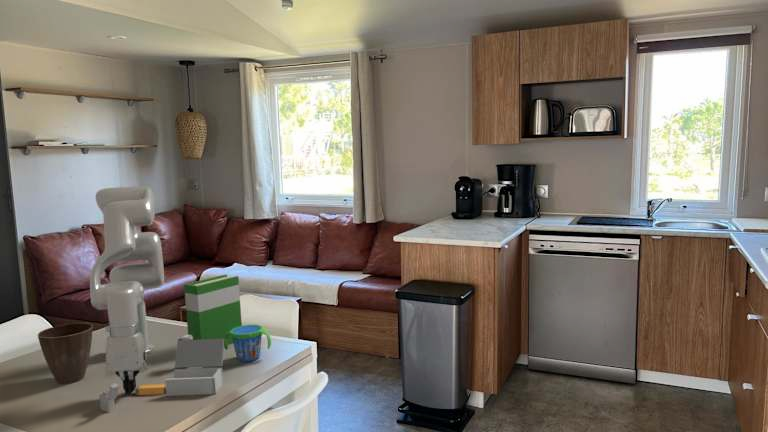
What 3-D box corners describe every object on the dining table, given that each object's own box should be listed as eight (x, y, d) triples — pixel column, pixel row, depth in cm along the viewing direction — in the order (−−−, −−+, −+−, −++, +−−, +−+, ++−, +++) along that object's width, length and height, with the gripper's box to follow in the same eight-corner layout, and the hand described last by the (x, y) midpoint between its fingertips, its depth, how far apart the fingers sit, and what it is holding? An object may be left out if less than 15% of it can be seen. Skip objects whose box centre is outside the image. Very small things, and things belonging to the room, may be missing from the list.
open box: (166, 396, 161) (165, 379, 160) (176, 384, 168) (175, 369, 168) (215, 393, 161) (214, 377, 160) (223, 382, 169) (222, 367, 168)
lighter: (100, 409, 154) (97, 381, 153) (106, 406, 155) (104, 378, 154) (115, 415, 150) (112, 386, 149) (121, 412, 151) (118, 384, 150)
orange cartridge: (135, 395, 162) (134, 388, 162) (138, 391, 164) (138, 385, 164) (167, 393, 162) (166, 387, 162) (170, 390, 165) (169, 383, 164)
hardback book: (229, 336, 212) (225, 274, 210) (242, 339, 208) (238, 276, 205) (189, 350, 198) (184, 284, 196) (202, 354, 194) (197, 286, 191)
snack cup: (219, 363, 185) (217, 333, 183) (233, 352, 195) (231, 323, 194) (264, 365, 182) (262, 334, 180) (276, 353, 192) (274, 324, 191)
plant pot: (40, 378, 178) (34, 329, 176) (92, 366, 186) (87, 319, 185) (46, 393, 166) (40, 341, 164) (101, 379, 175) (96, 329, 173)
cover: (177, 340, 171) (179, 341, 172) (174, 367, 168) (176, 368, 169) (223, 338, 171) (224, 339, 172) (221, 365, 168) (222, 366, 169)
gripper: (91, 335, 157) (98, 398, 159) (144, 333, 157) (150, 396, 159) (105, 327, 165) (110, 387, 167) (155, 325, 165) (160, 385, 167)
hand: (130, 391), depth 163 cm, fingers closed
